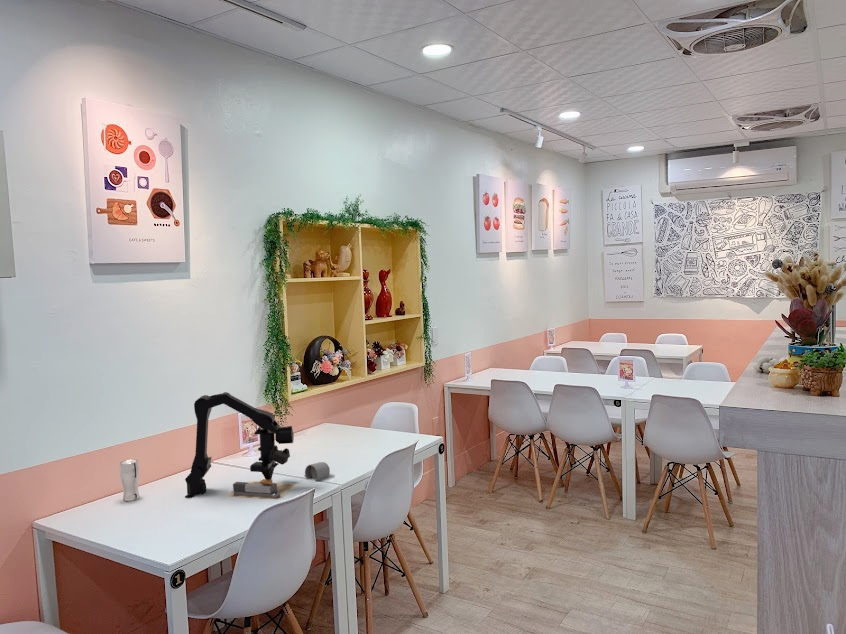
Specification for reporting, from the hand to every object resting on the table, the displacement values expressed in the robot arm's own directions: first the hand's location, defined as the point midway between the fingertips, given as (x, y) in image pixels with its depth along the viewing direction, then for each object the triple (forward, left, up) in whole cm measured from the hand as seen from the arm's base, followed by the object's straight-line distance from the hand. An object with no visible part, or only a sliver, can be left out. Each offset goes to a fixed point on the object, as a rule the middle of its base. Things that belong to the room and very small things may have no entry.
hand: (269, 482), depth 260 cm
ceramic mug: (+13, +16, -4) cm, 21 cm away
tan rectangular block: (0, -3, -2) cm, 4 cm away
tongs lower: (-1, -9, -2) cm, 9 cm away
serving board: (-2, -2, -4) cm, 5 cm away
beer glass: (-51, -18, -4) cm, 54 cm away
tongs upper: (-2, -9, -1) cm, 9 cm away
